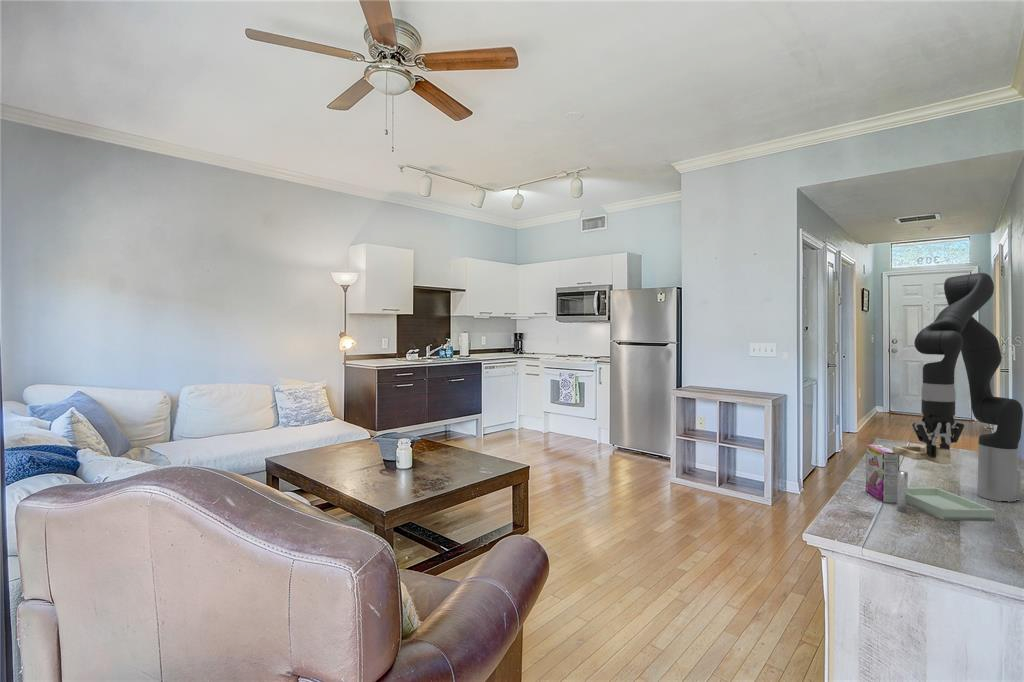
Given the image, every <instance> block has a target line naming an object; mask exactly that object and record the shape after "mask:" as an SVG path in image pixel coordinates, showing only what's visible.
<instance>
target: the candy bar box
mask: <svg viewBox="0 0 1024 682" xmlns="http://www.w3.org/2000/svg"><path fill="white" fill-rule="evenodd" d="M865 446H866V447H865V451H866V453H865V492H867V493H868V494H869V493H870V494H869V495H871V496H872V495H873V496H872V497H873V498H875V497H876V498H875V499H877V500H878V499H879V500H878V501H880V502H881V501H882V502H881V503H883V502H884V503H885V504H897V481H898V471H900V455H899V454H895V453H893V449H890V448H889V447H886V446H884V445H882V444H866V445H865Z"/></svg>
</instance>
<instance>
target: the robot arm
mask: <svg viewBox="0 0 1024 682" xmlns="http://www.w3.org/2000/svg"><path fill="white" fill-rule="evenodd" d="M943 284H944V285H943V289H944V295H945V300H946V303H947V306H946V307H944V308H943V309H942V310H941V311H940V312H939V313H938V315H937V316H936V318H935V319H934V321H933V322H931V323H930V324H929V325H927V326H925V327H924V328H923V329H921V330H920V331H919V332H918V333H917V334H916V337H915V339H914V343H913V344H914V348H915V350H917V351H918V352H919V353H921V354H923V355H937V356H939V355H942V356H943V358H942V359H941V360H940V361H935V362H934V361H933V362H927V363H924V364H923V366H922V386H921V402H920V403H921V413H922V415H923V416H922V418H921V421H919V422H918V423H915V422H914V423H912V425H911V426H912V429H913V431H914V432H915V434H916V437H917V439H918V441H920V442H921V443H924V444H925V445H926V449H927V450H926V453H927V455H928V456H929V457H932V458H935V457H936V446H937V445H936V444H937V439H938V438H939V442H940V443H939V447H941V448H944V449H948V450H950V451H951V449H950V448H951V447H950V445H951V444H953V443H958V441H959V438H960V436H961V434H962V432H963V430H964V427H965V424H964V423H961V422H957V421H955V418H954V416H955V415H956V387H955V369H956V365H957V361H958V359H959V355H960V353H961V357H962V360H963V363H964V367H965V372H966V376H967V381H968V387H969V397H970V405H971V411H972V414H973V417H974V418H975V419H976V421H978V422H980V423H983V424H989V425H994V426H996V430H995V431H994V432H993V433H985V434H981V435H979V437H978V449H977V450H978V451H977V452H978V455H977V456H978V457H977V485H976V486H977V490H976V494H977V496H978V497H981V498H984V499H987V500H991V501H996V502H1001V501H1008V502H1007V503H1010V502H1009V501H1015V500H1017V499H1020V500H1021V471H1019V470H1018V466H1019V465H1018V463H1019V462H1018V458H1019V457H1018V456H1019V453H1018V452H1019V443H1020V441H1021V437H1022V428H1023V427H1022V426H1023V420H1024V419H1023V418H1024V410H1023V407H1022V404H1021V403H1020V402H1019V401H1018V400H1016V399H1015V398H1008V397H1002V396H1001V397H999V396H993V393H992V390H991V389H992V388H991V380H992V378H993V377H994V375H995V373H996V371H997V370H998V368H999V367H1000V365H1001V363H1002V359H1003V358H1002V357H1003V356H1002V353H1001V348H1000V345H999V341H998V338H997V336H995V334H994V333H993V332H991V330H989V329H988V328H987V327H985V325H983V324H982V323H980V322H979V321H978V320H977V319H976V318H974V315H975V314H976V313H977V312H978V311H979V310H980V309H981V308H982V307H983V306H984V305H985V304H987V303H988V302H989V301H990V299H991V298H992V296H993V294H994V291H995V284H994V281H993V278H992V276H991V275H990V274H988V273H986V272H985V273H984V272H976V273H969V274H961V275H956V276H951V277H950V276H949V277H948V278H946V279H945V281H944V283H943Z"/></svg>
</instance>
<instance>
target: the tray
mask: <svg viewBox="0 0 1024 682" xmlns="http://www.w3.org/2000/svg"><path fill="white" fill-rule="evenodd" d="M907 505H909V506H912V507H914V508H915V509H918V510H920V511H922V512H925V513H927V514H929V515H931V516H933V517H935V518H937V519H940V520H941V521H996V509H993V508H990V507H988V506H987V505H983V504H981V503H978V502H975V501H972V500H971V499H968V498H966V497H962V496H960V495H957V494H955V493H952V492H949V491H948V490H945V489H942V488H939V487H907Z"/></svg>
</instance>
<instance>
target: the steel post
mask: <svg viewBox="0 0 1024 682" xmlns="http://www.w3.org/2000/svg"><path fill="white" fill-rule="evenodd" d="M908 473H909V472H908V471H904V470H899V471H898V481H897V503H896V511H897V512H901V513H908V504H907V488H908V481H909V480H908V478H909V477H908V476H909V474H908Z"/></svg>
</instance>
